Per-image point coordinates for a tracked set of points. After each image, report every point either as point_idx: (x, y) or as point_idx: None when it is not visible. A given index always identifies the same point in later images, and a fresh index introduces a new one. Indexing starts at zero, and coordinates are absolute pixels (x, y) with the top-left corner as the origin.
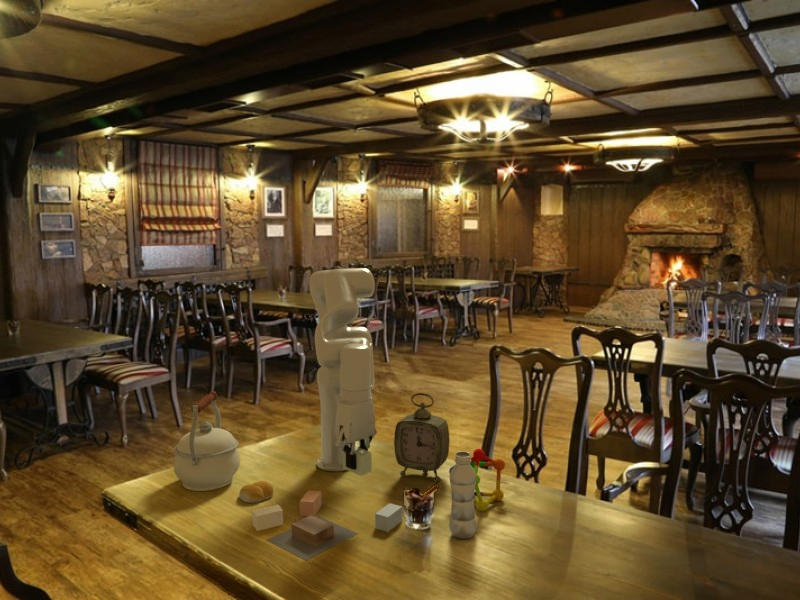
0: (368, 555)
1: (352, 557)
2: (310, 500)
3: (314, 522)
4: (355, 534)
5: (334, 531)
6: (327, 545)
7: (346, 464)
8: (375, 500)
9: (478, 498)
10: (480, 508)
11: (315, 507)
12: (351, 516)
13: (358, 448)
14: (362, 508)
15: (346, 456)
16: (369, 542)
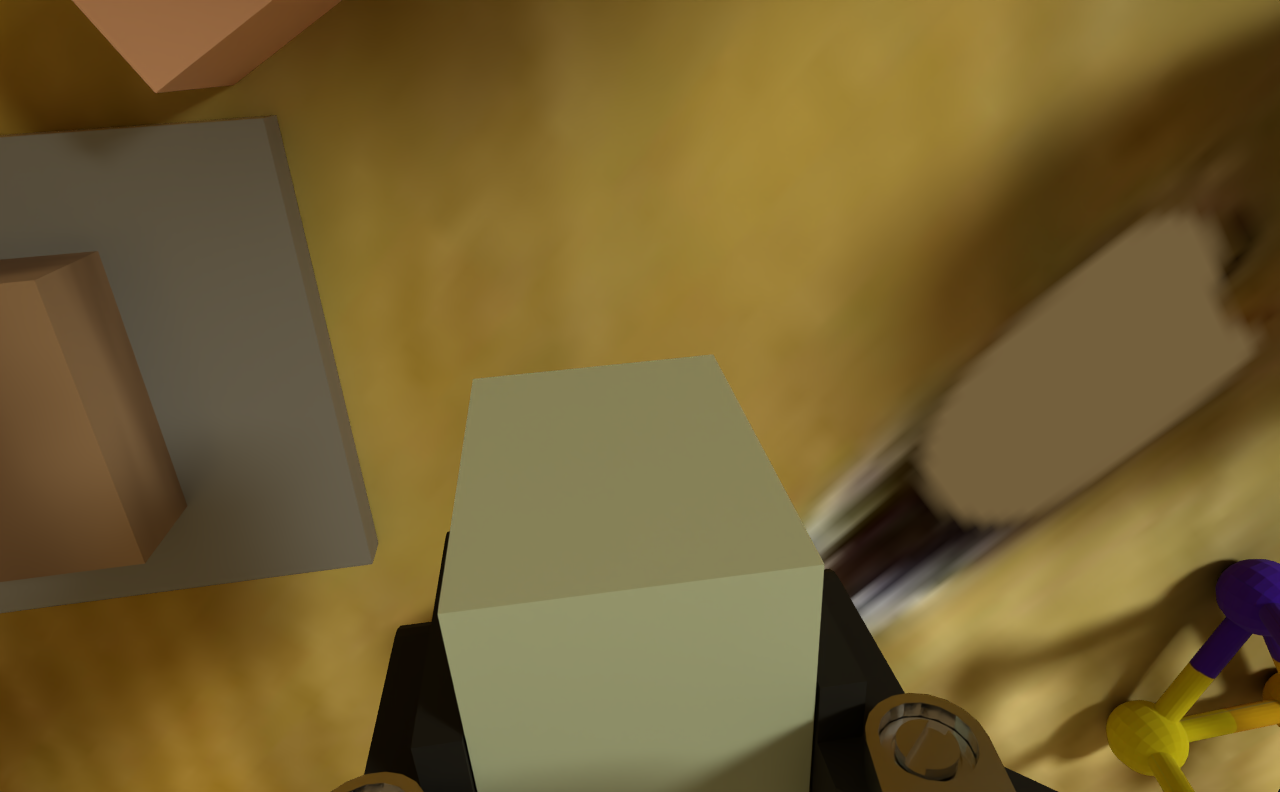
0: (306, 715)
1: (209, 684)
2: (148, 19)
3: (2, 427)
4: (346, 563)
5: (238, 439)
6: None
7: (400, 631)
8: (889, 167)
9: (1159, 775)
10: (1111, 744)
11: (242, 50)
12: (549, 256)
13: (761, 757)
14: (710, 206)
15: (374, 760)
16: (405, 617)
